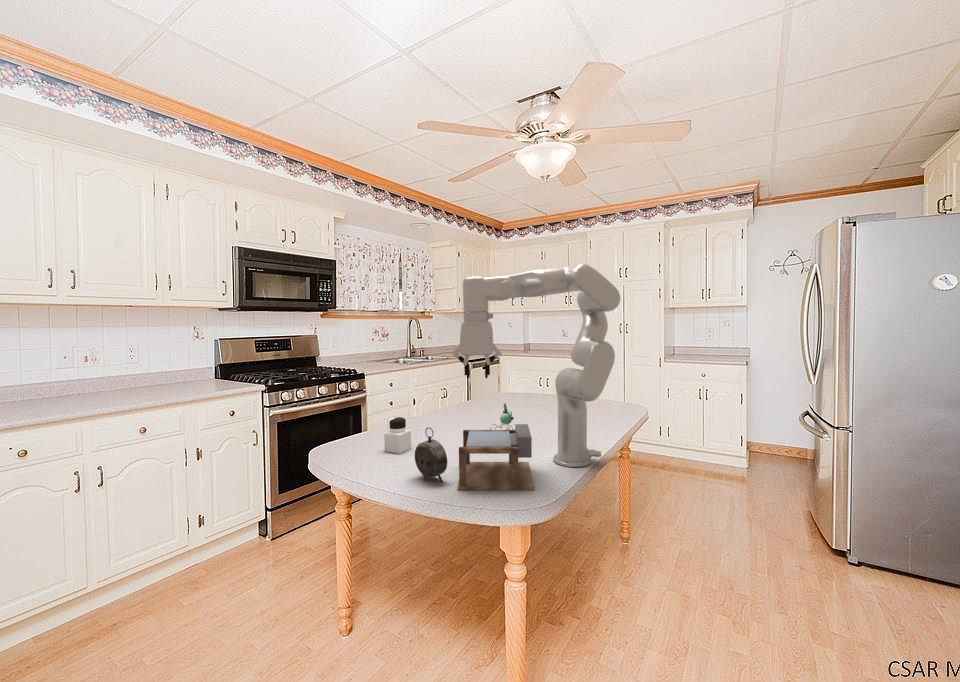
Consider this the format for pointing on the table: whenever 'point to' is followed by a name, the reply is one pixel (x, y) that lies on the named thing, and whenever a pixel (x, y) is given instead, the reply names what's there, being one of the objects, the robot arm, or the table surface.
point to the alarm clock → (431, 458)
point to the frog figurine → (505, 418)
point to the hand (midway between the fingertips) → (477, 377)
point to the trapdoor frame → (492, 469)
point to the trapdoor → (504, 439)
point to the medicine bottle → (397, 436)
